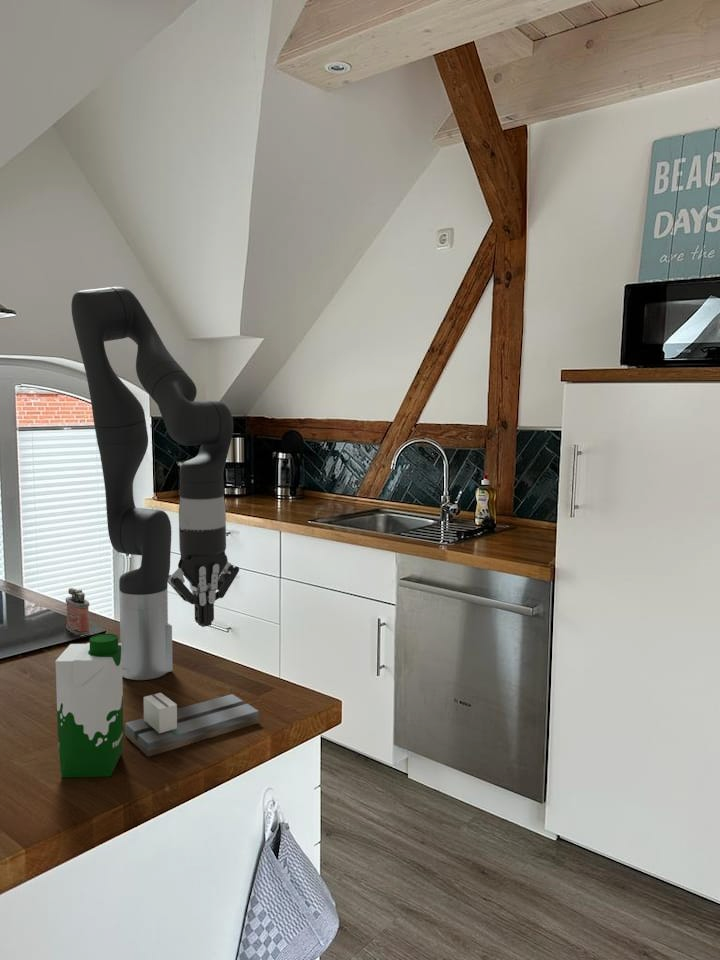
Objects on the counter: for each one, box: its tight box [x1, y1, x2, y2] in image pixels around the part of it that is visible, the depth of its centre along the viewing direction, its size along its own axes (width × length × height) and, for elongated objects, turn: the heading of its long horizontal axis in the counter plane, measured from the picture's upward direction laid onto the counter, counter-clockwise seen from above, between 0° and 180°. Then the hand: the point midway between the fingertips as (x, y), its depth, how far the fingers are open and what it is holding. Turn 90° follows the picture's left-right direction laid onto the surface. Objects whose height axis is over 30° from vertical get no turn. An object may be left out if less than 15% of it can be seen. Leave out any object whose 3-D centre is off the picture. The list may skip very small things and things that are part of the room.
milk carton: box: [54, 633, 124, 779], centre depth 114 cm, size 9×9×20 cm
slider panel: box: [124, 693, 260, 758], centre depth 127 cm, size 20×9×2 cm, turn 129°
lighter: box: [65, 587, 91, 635], centre depth 176 cm, size 8×3×10 cm, turn 47°
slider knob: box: [143, 692, 178, 733], centre depth 123 cm, size 3×6×5 cm, turn 39°
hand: (204, 624), depth 127 cm, fingers closed
